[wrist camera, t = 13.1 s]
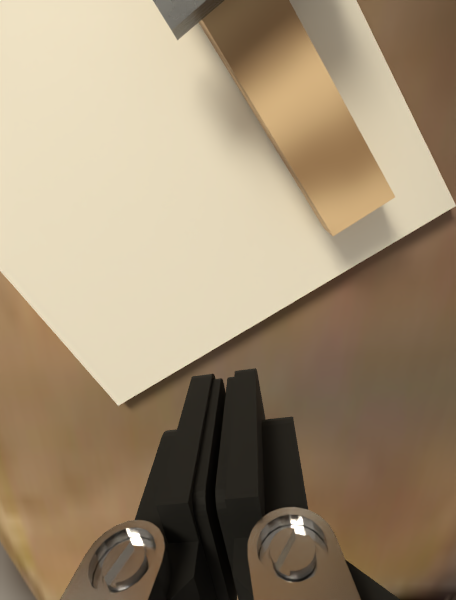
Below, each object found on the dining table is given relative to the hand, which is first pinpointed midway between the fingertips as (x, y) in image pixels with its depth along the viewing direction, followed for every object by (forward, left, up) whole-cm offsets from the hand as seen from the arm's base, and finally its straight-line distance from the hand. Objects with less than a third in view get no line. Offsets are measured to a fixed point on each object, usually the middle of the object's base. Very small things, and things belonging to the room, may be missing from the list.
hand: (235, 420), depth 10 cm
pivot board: (+1, -10, -19) cm, 22 cm away
